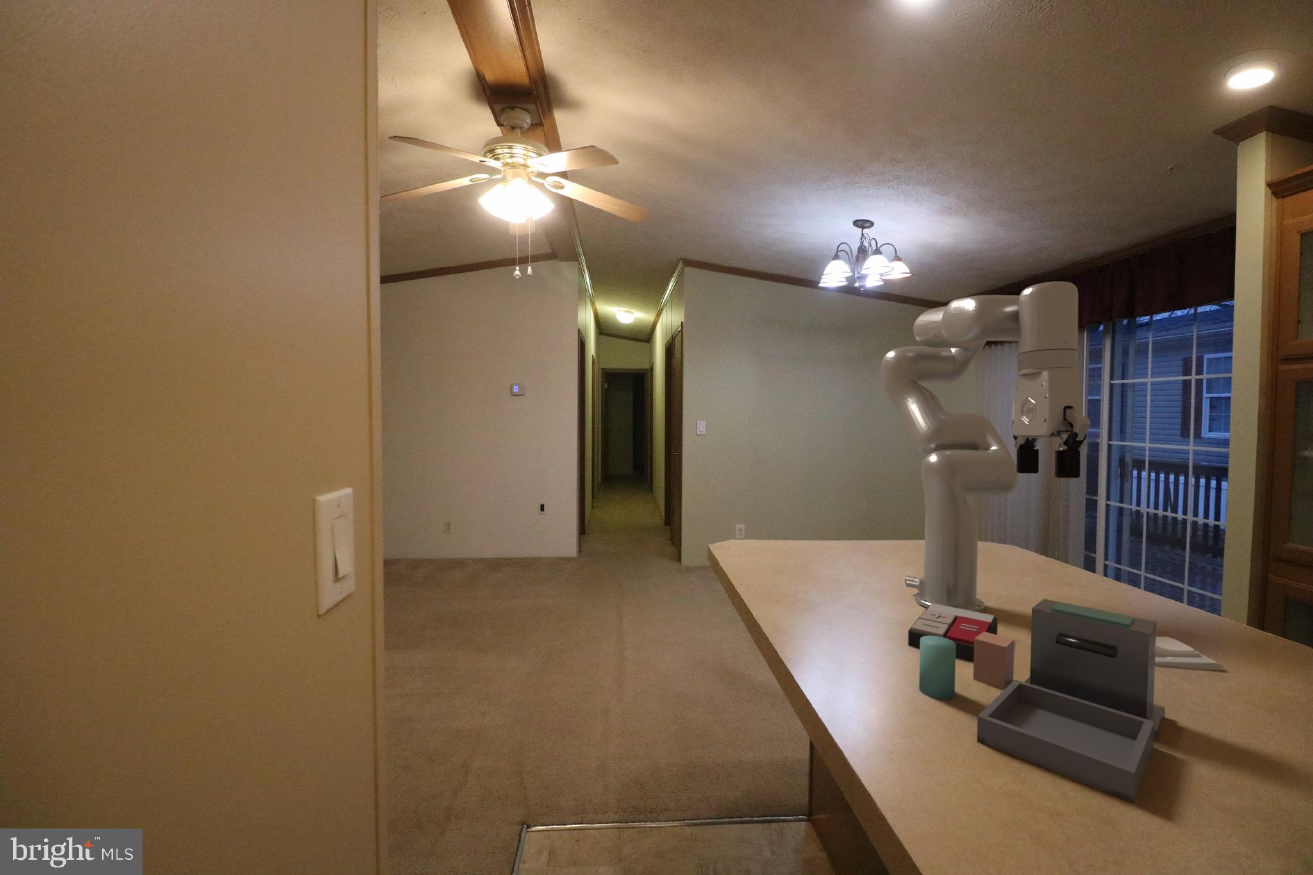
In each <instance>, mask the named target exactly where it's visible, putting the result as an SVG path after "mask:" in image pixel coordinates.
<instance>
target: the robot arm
mask: <svg viewBox="0 0 1313 875" xmlns="http://www.w3.org/2000/svg"><path fill="white" fill-rule="evenodd" d="M912 331H913V332H912V333H913V336H914V338H915V339H916V341H917V342H918V343H919V344H921V345H920V346H919V345H917V346H916V345H909V346H902V347H897V348H896V347H895V348H894V349H892V350H890V351H888V352H887V353H886V354H885V355H883V358H882V360H881V364H880V378H881V382H882V386H883V389H884V392H885V393H886V396H887V397H888V399H889V401H890V402H891V403H892V405H894V407H895V409H897V411H898V413H899V414H900V416H901V418H902V420H903V423H904V425H905V428H906V430H907V433H908V434H909V436H910V439H911V441H912V442H913V445H914V447H915V448H916V450H917V451H918V452H919V453H920V454H922V455H923V456H925V457H924V459H923V460H922V463H921V466H920V477H921V483H922V484H921V485H922V489H923V495H924V508H925V509H924V514H925V517H924V565H923V566H924V568H923V570H924V571H923V576H922V577H920V578H918V577H915V576H911V575H906V576H905V578H904V584H905V587H907V588H912V589H913V588H914V589H916V590H917V592H916V593H915V602H916V603H917V604H918V605H920V606H922V607H924V608H925V609H926V608H927V607H928V606H929V605H930V604H938V605H943V606H948V607H954V608H959V609H964V610H969V611H974V612H979V613H984V612H985V610H986V604H985V602H984V601H983V600H982V599H979V598H978V597H977V588H978V586H977V585H978V584H977V583H978V550H979V549H978V546H979V544H978V543H979V520H978V517H977V515H976V513H975V511H974V509H973V508H972V506H971V505H970V504H969V502H968V500H967V498H1001V497H1005V496H1007V495H1010V494H1012V493H1013V492H1014V491H1015V490H1016V488H1017V486H1018V484H1019V474H1036V475H1037V474H1038V473H1039V472H1040V470H1039V468H1040V467H1039V464H1040V462H1039V461H1040V459H1039V458H1040V448H1037V446H1038V444H1039V442H1040V440H1041V438H1052V439H1053V440H1054V443H1055V444H1056V446H1057V448H1058V450H1054V477H1055V478H1057V479H1078V478H1080V477H1081V451H1083V449H1084V442H1085V441H1086V440H1087V434H1088V430H1089V428H1090V425H1091V420H1090V419H1089V418H1088V417H1086V416H1085V415H1084V414H1082V403H1081V402H1082V401H1081V390H1080V382H1079V376H1078V370H1079V369H1078V368H1079V367H1078V365H1079V364H1078V360H1079V358H1078V355H1079V352H1078V350H1079V349H1078V346H1079V344H1078V342H1079V340H1078V339H1079V338H1078V337H1079V334H1078V333H1079V292H1078V288H1077V286H1076V285H1075V284H1074V283H1072V282H1069V281H1049V282H1048V281H1047V282H1041V283H1036V284H1033V285H1030V286H1028V287H1026V288H1024V289H1023V290H1022V291H1021V293H1020V294H1019V295H1014V294H1013V295H1007V294H1005V295H1004V294H1001V295H1000V294H989V295H988V294H981V295H979V294H978V295H972V296H967V297H961V298H956V299H953V300H951V301H950V302H949V303H948V304H947V305H944V306H939V307H936V308H935V307H934V308H931V309H929V310H926V311H924V312H923V313H921V314H920V315H919V316H918V317H917V318H916V319H915V321H914V324H913V328H912ZM987 341H988V342H990V341H994V342H995V341H998V342H999V341H1000V342H1001V341H1003V342H1018V358H1017V359H1018V360H1017V362H1018V364H1017V366H1018V367H1017V369H1018V370H1017V371H1018V372H1017V374H1018V377H1017V380H1016V384H1015V389H1014V396H1013V404H1012V405H1013V406H1012V407H1013V408H1012V422H1011V423H1010V424H1011V425H1010V426H1011V429H1012V430H1011V431H1012V434H1013V435H1012V438H1013V440H1014V441H1015V442H1014V447H1015V450H1016V460H1015V459H1014V457H1013V456H1012V454H1011V452H1010V450H1009V449H1008V447H1007V446H1006V444H1005V443H1004V441H1003V438H1001V436H1000V434H999V432H998V431H997V428H996V427H995V426H994V424H993V423H992V422H991V420H989V419H988V418H986V417H985V416H983V415H980V414H977V413H965V412H964V413H962V412H960V413H959V412H956V413H955V412H949V411H947V410H946V409H945V407H943V405H942V403H941V400H940V399H939V398H938V397H937V395H936V394H934V392H932V391H931V390H930V389H929V388H927V387H925V386H923V385H922V384H950V383H954V382H957V381H958V380H960V379H961V378H962V377H963V376H964V375H965V373H966V372H967V371H968V369H969V367H970V365H971V364H972V363H973V361H975V359H976V357H977V356H978V355H979V353H980V352H981V350H982V349H983V348H984V346H985V344H986V342H987Z"/></svg>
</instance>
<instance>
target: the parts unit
mask: <svg viewBox="0 0 1313 875" xmlns="http://www.w3.org/2000/svg"><path fill="white" fill-rule="evenodd" d="M1030 628H1031V629H1030V662H1029V663H1030V664H1029V667H1030V668H1029V676H1028V678H1027V679H1025V681H1024V682H1025V683H1029V684H1032V685H1035V686H1038V687H1042V688H1045V689H1048V690H1052V691H1055V692H1058V693H1061V694H1065V695H1068V696H1071V697H1075V698H1078V699H1081V700H1084V701H1088V702H1091V703H1094V704H1098V705H1101V706H1104V707H1107V708H1111V709H1114V710H1117V711H1121V712H1124V713H1127V714H1130V715H1134V716H1137V717H1140V718H1144V719H1147V720H1150V721H1153V722H1154V742H1155V741H1157V739H1158V737H1159V733H1160V730H1161V729H1162V725H1163V722H1164V720H1165V715H1166V714H1165V713H1166V706H1165V707H1164V706H1162V705H1161V706H1160V705H1158V704H1155V703H1154V701H1155V700H1154V698H1155V697H1154V696H1155V676H1156V675H1155V674H1156V673H1155V670H1156V666H1155V647H1156V636H1157V621H1155V620H1150V619H1145V618H1140V617H1135V616H1131V615H1126V614H1123V613H1122V614H1121V613H1117V612H1113V611H1106V610H1102V609H1097V608H1092V607H1089V606H1088V607H1087V606H1082V605H1077V604H1074V603H1073V604H1072V603H1067V602H1062V601H1056V600H1051V599H1047V598H1043V599H1042V600H1040V601H1039V602H1037V603H1036V604H1035V605H1034V606H1032V608H1031V627H1030Z"/></svg>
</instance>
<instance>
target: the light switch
mask: <svg viewBox="0 0 1313 875" xmlns="http://www.w3.org/2000/svg"><path fill="white" fill-rule="evenodd" d="M1164 666H1165V668H1176V667H1178V668H1179V669H1188V670H1189V669H1191V670H1201V669H1204V670H1205V671H1208V670H1209V671H1224V665H1223V664H1221V663H1219V662H1218V661H1216V660H1213V659H1212V658H1210V657H1209V656H1206V655H1205V654H1202V653H1200V652H1199V651H1198V650H1196V649H1194V648H1193V647H1192V646H1189V645H1188V644H1185V643H1184V642H1181V641H1180V640H1177V639H1175V638H1174V637H1173V638H1172V637H1170V636H1161V635H1160V636H1159V635H1158V636H1157V635H1156V647H1155V667H1164ZM1178 668H1177V669H1178Z"/></svg>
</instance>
